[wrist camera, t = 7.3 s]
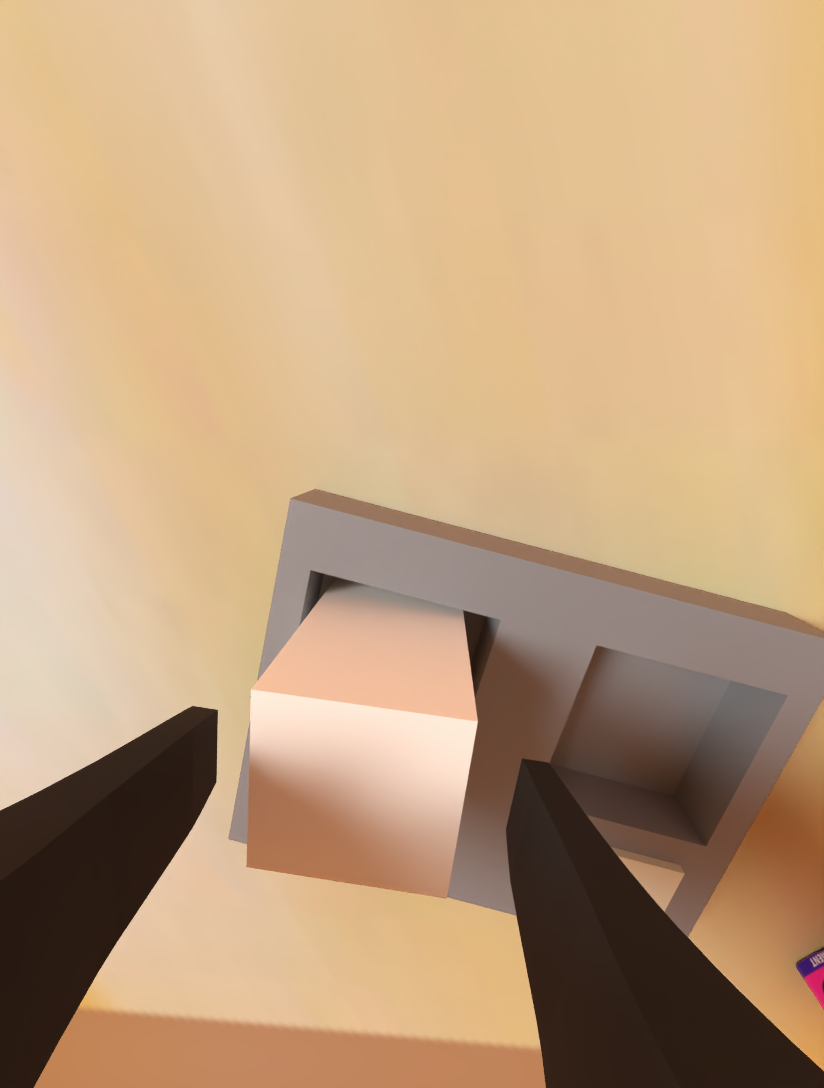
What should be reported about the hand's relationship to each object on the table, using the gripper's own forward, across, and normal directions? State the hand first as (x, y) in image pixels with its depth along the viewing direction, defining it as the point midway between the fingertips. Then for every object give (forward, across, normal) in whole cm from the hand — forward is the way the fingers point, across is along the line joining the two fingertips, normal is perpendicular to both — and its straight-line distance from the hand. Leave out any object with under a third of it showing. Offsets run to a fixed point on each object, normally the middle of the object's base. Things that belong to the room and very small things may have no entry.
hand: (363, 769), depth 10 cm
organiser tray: (+6, -4, +2) cm, 8 cm away
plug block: (+6, 0, 0) cm, 6 cm away
